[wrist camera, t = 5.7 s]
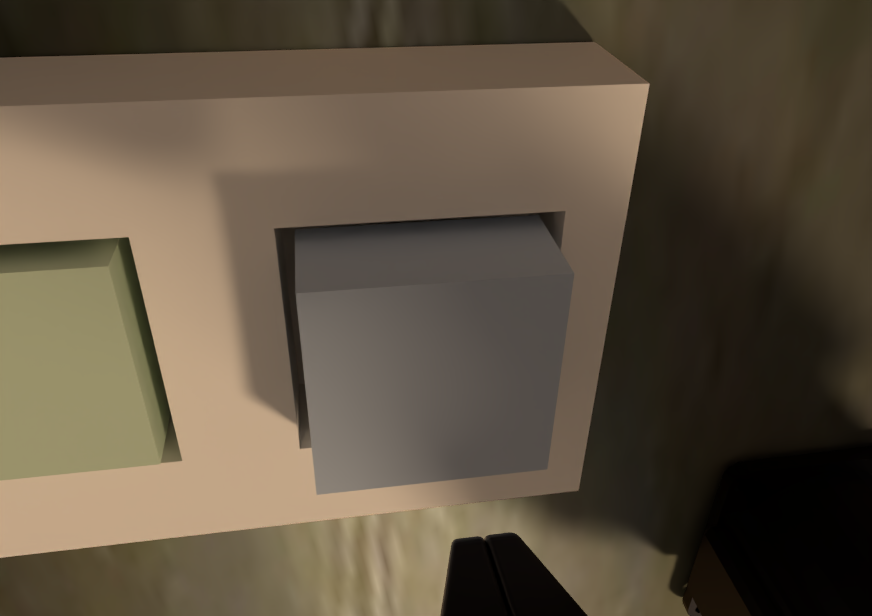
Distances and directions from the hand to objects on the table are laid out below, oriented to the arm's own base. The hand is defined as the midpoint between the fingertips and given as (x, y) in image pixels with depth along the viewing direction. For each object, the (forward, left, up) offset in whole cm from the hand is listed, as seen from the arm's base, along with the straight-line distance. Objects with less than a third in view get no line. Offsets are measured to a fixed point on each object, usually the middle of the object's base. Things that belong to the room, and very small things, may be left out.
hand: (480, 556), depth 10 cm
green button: (+7, 0, -6) cm, 10 cm away
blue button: (0, 0, -5) cm, 5 cm away
